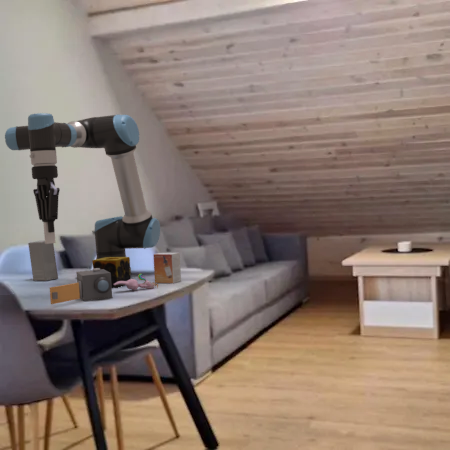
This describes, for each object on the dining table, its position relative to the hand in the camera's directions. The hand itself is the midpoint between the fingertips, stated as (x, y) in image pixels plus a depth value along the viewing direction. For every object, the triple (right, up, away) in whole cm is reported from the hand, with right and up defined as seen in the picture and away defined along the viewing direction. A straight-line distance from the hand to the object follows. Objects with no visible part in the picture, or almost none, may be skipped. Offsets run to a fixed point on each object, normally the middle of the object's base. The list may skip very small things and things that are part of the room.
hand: (50, 243), depth 200 cm
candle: (+13, -17, +36) cm, 42 cm away
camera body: (+11, -18, +12) cm, 24 cm away
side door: (+5, -18, +2) cm, 19 cm away
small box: (+33, -15, +38) cm, 52 cm away
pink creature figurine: (+23, -17, +22) cm, 36 cm away
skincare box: (-19, -17, +64) cm, 69 cm away
